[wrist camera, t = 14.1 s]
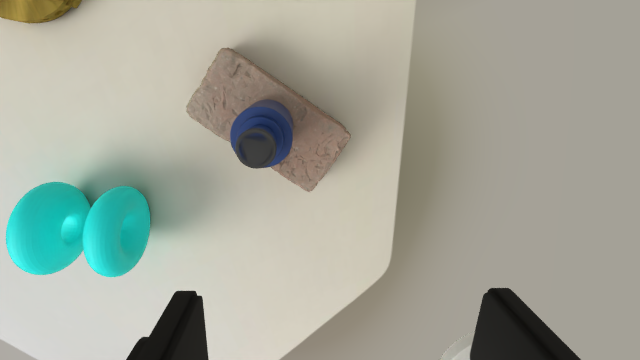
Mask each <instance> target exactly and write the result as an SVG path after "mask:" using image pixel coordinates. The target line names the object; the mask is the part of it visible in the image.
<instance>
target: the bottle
mask: <svg viewBox="0 0 640 360" xmlns="http://www.w3.org/2000/svg"><path fill="white" fill-rule="evenodd" d="M230 141H231V145H232V148H233V150H234V152H235V153H236V155H237V157H238V158H239V160H240V161H241V162H242V163H243V164H244V165H246V166H248V167H251V168H266V167H271V166H274V165H276V164H278V163H280V162H281V161H282V160H284V159H285V158H286V156H287V155H288V153H289V152H290V149H291V147H292V141H293V119H292V116H291V114H290V112H289V111H288V109H287V108H286V107H285V106H284V105H282V104H281V103H279V102H277V101H274V100H268V99H267V100H260V101H257V102H255V103H254V104H252V105H251V106H249V107H248V108H247V109H245V110H244V111H243V112H241V113H240V114H239V115H238V116H237V117H236V119H235V120H234V122H233V124H232V127H231V131H230Z"/></svg>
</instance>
